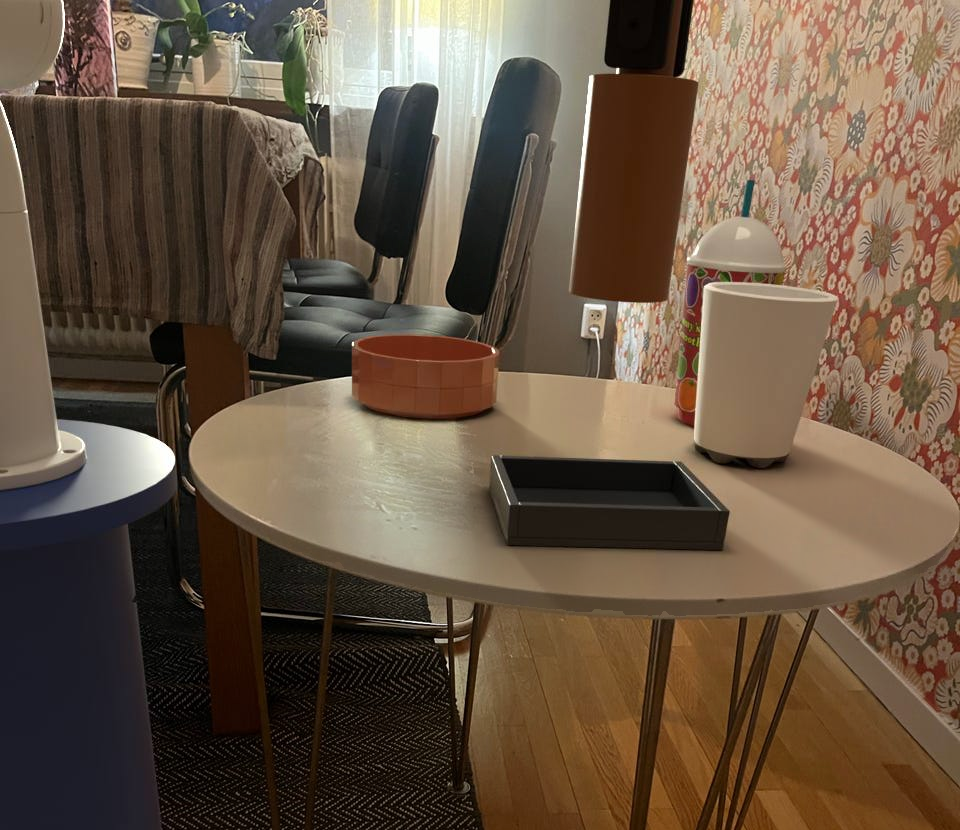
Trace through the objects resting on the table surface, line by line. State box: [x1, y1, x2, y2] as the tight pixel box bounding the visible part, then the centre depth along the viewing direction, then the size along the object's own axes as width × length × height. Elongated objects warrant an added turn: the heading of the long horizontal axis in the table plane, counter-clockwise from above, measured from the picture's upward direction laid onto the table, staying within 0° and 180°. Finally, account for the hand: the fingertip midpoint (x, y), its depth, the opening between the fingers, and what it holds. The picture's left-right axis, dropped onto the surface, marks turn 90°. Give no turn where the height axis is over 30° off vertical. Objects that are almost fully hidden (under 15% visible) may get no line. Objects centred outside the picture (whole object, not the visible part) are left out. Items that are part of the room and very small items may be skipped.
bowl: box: [351, 333, 501, 420], centre depth 85 cm, size 13×13×5 cm
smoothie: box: [674, 179, 788, 427], centre depth 82 cm, size 8×8×20 cm
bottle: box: [568, 0, 699, 304], centre depth 52 cm, size 6×6×15 cm
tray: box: [488, 454, 731, 551], centre depth 60 cm, size 13×10×2 cm
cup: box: [693, 282, 839, 469], centre depth 74 cm, size 10×10×13 cm
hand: (644, 68), depth 51 cm, fingers closed on bottle, 3 cm apart
